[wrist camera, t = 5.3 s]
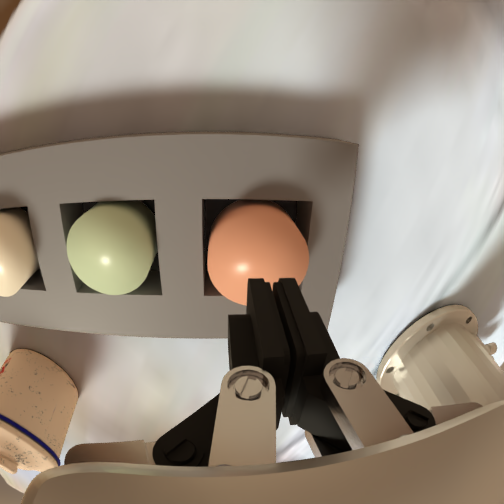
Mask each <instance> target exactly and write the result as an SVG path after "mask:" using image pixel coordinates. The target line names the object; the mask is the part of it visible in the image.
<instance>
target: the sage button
mask: <svg viewBox="0 0 504 504" xmlns="http://www.w3.org/2000/svg"><path fill="white" fill-rule="evenodd" d="M157 251H158V246H157V234H156V219H155V216H154V214H153V213H152V211H151V210H150V209H149V208H148V207H147V206H146V205H145V204H144V203H143V202H141V201H139V200H122V201H99V202H98V203H97V204H96V205H94V206H93V207H92V208H91V209H89V210H88V211H87V212H86V213H84V214H83V215H82V216H81V217H80V218H79V219H77V220H76V221H75V223H74V224H73V225H72V227H71V229H70V231H69V234H68V238H67V255H68V259H69V262H70V264H71V267H72V268H73V270H74V272H75V273H76V275H77V276H78V277H79V278H80V279H81V280H82V281H83V282H84V283H85V284H86V285H87V286H89V287H90V288H92V289H94V290H96V291H98V292H101V293H103V294H108V295H122V294H126V293H129V292H131V291H133V290H135V289H137V288H138V287H139V286H140V285H141V284H142V283H143V282H144V280H145V279H146V277H147V275H148V272H149V270H150V267H151V265H152V263H153V260H154V258H155V255H156V253H157Z"/></svg>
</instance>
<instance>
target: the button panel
mask: <svg viewBox="0 0 504 504" xmlns="http://www.w3.org/2000/svg"><path fill="white" fill-rule="evenodd" d="M358 146H359V144H355V143H351V142H347V141H343V140H338V139H330V138H321V137H311V136H300V135H288V134H273V133H253V132H164V133H144V134H130V135H118V136H107V137H97V138H89V139H81V140H73V141H66V142H59V143H53V144H47V145H41V146H35V147H30V148H25V149H20V150H15V151H10V152H6V153H1V154H0V209H2V208H13V207H23V206H27V207H28V213H29V219H30V225H31V230H32V235H33V240H34V244H35V249H36V253H37V257H38V262H39V266H40V268H39V269H38V270H37V271H36V272H35V273H34V274H33V275H32V276H31V277H30V278H29V279H28V280H27V281H26V283H25V284H24V285H23V286H22V287H21V288H20V289H19V290H18V291H17V293H16V294H14V295H12V296H9V297H3V296H0V322H3V323H9V324H16V325H23V326H30V327H37V328H45V329H53V330H61V331H71V332H81V333H92V334H104V335H119V336H136V337H158V338H228V315H232V314H246V305H241V304H238V303H235V302H233V301H231V300H229V299H227V298H226V297H225V296H223V295H222V294H221V293H220V292H219V291H218V290H217V289H216V287H215V286H214V285H213V283H212V281H211V279H210V276H209V272H208V271H206V257H205V199H255V200H291V201H298V203H297V214H296V224H295V225H296V226H297V228H298V229H299V231H300V232H301V234H302V236H303V237H304V239H305V241H306V244H307V246H308V251H309V265H308V270H307V272H306V275H305V277H304V279H303V281H302V282H301V284H300V285H299V288H300V290H301V293H302V295H303V297H304V300H305V302H306V304H307V306H308V309H309V311H310V312H318V313H319V314H320V316H321V318H322V321H323V323H324V325H325V327H326V329H328V325H329V321H330V316H331V312H332V307H333V303H334V298H335V293H336V289H337V284H338V279H339V274H340V269H341V263H342V258H343V253H344V247H345V241H346V235H347V229H348V223H349V217H350V210H351V203H352V196H353V189H354V181H355V173H356V165H357V156H358ZM122 200H154V202H155V219H156V234H157V246H158V258H159V268H160V271H158V270H149V272H148V275H147V277H146V279H145V280H144V282H143V283H142V284H141V285H140V286H139V287H138V288H137V289H135V290H133V291H131V292H129V293H126V294H122V295H108V294H103V293H101V292H98V291H96V290H94V289H92V288H90V287H89V286H87V285H86V284H85V283H84V282H83V281H82V280H81V279H80V278H79V277H78V276H77V275H76V273H75V272H74V270H73V268H72V267H71V264H70V262H69V259H68V255H67V238H68V234H69V231H70V229H71V227H72V225H73V224H74V223H75V221H76V220H77V219H79V218H80V217H81V216H82V215H83V206H82V202H98V201H122Z"/></svg>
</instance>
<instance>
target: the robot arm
mask: <svg viewBox="0 0 504 504" xmlns="http://www.w3.org/2000/svg"><path fill="white" fill-rule="evenodd" d="M477 333H478V322H477V318H476V317H475V315H474V314H473V313H472V312H471V311H470V310H469V309H468V308H467V307H465V306H463V305H449V306H445V307H442V308H439V309H437V310H435V311H433V312H431V313H429V314H427V315H425V316H424V317H422V318H421V319H419V320H418V321H416V322H415V323H414V324H413V325H411V326H410V327H409V328H408V329H407V330H406V331H405V332H404V333H403V334H402V335H401V336H400V337H398V338H397V340H396V341H395V342H394V343H393V344H392V346H391V347H390V348H389V350H388V351H387V353H386V354H385V356H384V357H383V359H382V361H381V363H380V365H379V368H378V371H377V375H376V379H375V378H374V377H373V375H372V374H371V373H370V371H369V370H368V369H367V368H366V367H365V366H364V365H363V364H362V363H360V362H358V361H356V360H353V359H347V358H341V359H340V357H339V355H338V353H337V351H336V349H335V346H334V344H333V342H332V340H331V338H330V336H329V333H328V331H327V329H326V327H325V325H324V323H323V321H322V318H321V316H320V314H319V313H318V312H310V311H309V309H308V306H307V304H306V302H305V300H304V297H303V295H302V293H301V290H300V288H299V286H298V284H297V281H296V279H295V278H279V280H278V282H274V283H273V289H272V288H271V285H270V282H265V281H264V278H248V284H247V306H246V314H232V315H228V352H229V367H230V371H229V372H228V373H227V374H226V375H225V376H224V377H223V380H222V383H221V389H220V393H219V394H218V395H217V396H216V397H214V398H213V399H212V400H210V401H209V402H208V403H206V404H205V405H204V406H202V407H201V408H200V409H198V410H197V411H196V412H194V413H193V414H192V415H190V416H189V417H188V418H186V419H185V420H184V421H182V422H181V423H179V424H178V425H177V426H175V427H174V428H172V429H171V430H170V431H168V432H167V433H165V434H164V435H163V436H161V437H160V438H159V439H158V440H157V441H155V442H146V443H145V441H144V440H136V441H125V442H111V443H89V444H79V445H75V446H74V447H72V448H71V449H70V450H69V451H68V452H67V454H66V456H65V461H64V465H62V466H57V467H54V468H51V469H48V470H45V471H43V472H41V473H40V474H38V475H37V476H36V477H35V478H34V479H33V480H32V481H31V483H30V484H29V486H28V488H27V489H26V491H25V494H24V496H23V499H22V501H21V504H504V372H503V371H502V369H501V368H500V367H499V366H498V364H497V363H496V362H495V361H494V358H493V356H491V355H492V354H494V353H495V352H496V350H497V345H496V343H494V342H492V343H489V344H486V345H484V343H483V342H482V341H481V340H480V339H479V338H478V337H477ZM281 412H282V414H283V417H289V422H290V425H296V424H297V425H298V426H299V427H300V428H302V429H304V430H305V436H306V439H307V441H308V443H309V445H310V448H311V450H312V452H313V454H314V456H315V458H310V459H303V460H296V461H289V462H281V463H276V430H277V429H278V426H279V421H280V417H281Z"/></svg>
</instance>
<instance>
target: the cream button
mask: <svg viewBox="0 0 504 504" xmlns="http://www.w3.org/2000/svg"><path fill="white" fill-rule="evenodd" d="M39 267H40V266H39V262H38V257H37V253H36V249H35V244H34V240H33V235H32V230H31V225H30V219H29V214H28V213H27V212H26V211H24V210H23V209H21V208H18V207H13V208H3V209H1V210H0V296H3V297H9V296H12V295H14V294H16V293H17V291H18V290H19V289H20V288H21V287H22V286H23V285H24V284H25V283H26V281H27V280H28V279H29V278H30V277H31V276H32V275H33V274H34V273H35V272H36V271H37V270H38V269H39Z"/></svg>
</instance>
